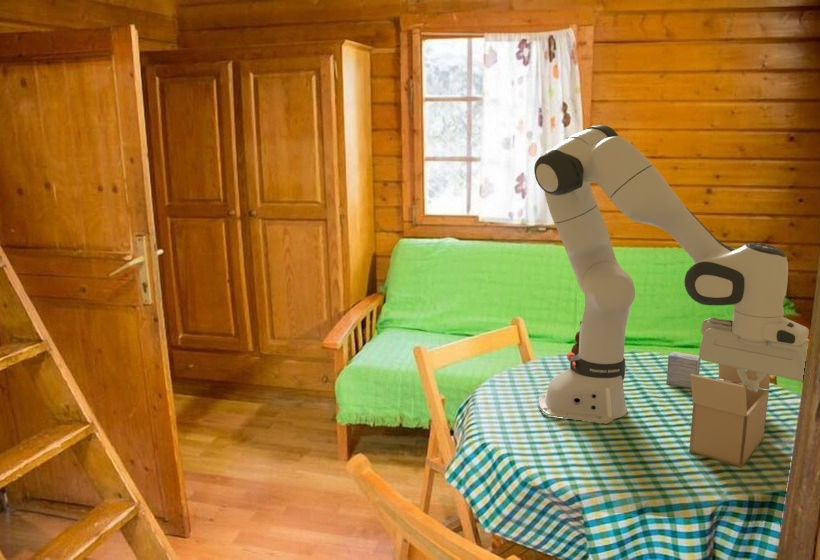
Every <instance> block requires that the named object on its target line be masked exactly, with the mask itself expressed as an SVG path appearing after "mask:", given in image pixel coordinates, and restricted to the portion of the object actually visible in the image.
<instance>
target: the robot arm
mask: <svg viewBox="0 0 820 560" xmlns="http://www.w3.org/2000/svg"><path fill="white" fill-rule="evenodd" d="M533 171H534V175H535V177H534V178H535V180H536V182H537V184H538V186H539V187H540V188H541V189H542V190H543V192H544V196H545V200H546V204H547V207H548V209H549V213H550V216H551V218H552V221H553V223H554V226H555V228H556V230H557V233H558V235H559V238H560V240H561V242H562V245H563V247H564V250H565V252H566V255H567V258H568V260H569V263H570V265H571V269H572V271H573V274H574V276H575V280H576V281H577V284H578V286H579V287H578V288H579V289H580V290H581V292H582V293H583V294H584V301H585V302H584V309H583V313H582V320H581V321H582V323H581V325H580V324H579V331H580V337H579V353H578V354H577V355H574V353H572V352H571V351H570V352H568V353H567V354H566V358H567V361H569V366H570V367H569V368H567V369H566V370H563V372H561V373H559V374H558V375H556V376H554V377H553V378H552V379H551V380H550V382H549V384H548V387H547V392H544V393H541V394H540V395H539V396H538V402H537V404H538V403H539V407H540V409H541V410H542V411H543V412H544V413H546V414H547V415H551V416H557V417H563V418H569V419H576V420H584V421H583V422H585V421H590V422H589V423H593V422H597V423H596V424H602V423H604V425H607V424H610V423H611V422H612V421H613V420H617V419H620V418H622V417H624V416H625V415H626V414H627V413H628V408H627V404H626V399H625V392H624V391H625V389H624V380H625V376H626V358H625V354H624V353H625V341H626V340H625V339H626V328H627V325H628V319H629V316H630V313H631V309H632V308H631V307H632V304H633V303H634V302H635V301H634V300H635V298H636V288H635V284H634V281H633V279H632V277H631V276H630V274H629V273H628V272H627V271H625V269H623V268H622V266H620V264H619V262H618V260H617V256H616V254H615V251H614V248H613V245H612V242H611V237H610V233H609V230H608V228H607V225H606V223H605V220H604V218H603V215H602V213H601V210H600V208H599V205H598V203H597V201H596V198H595V197H594V194H593V191H592V189H591V183H595V184H597V185H598V186H599V188H601V189H602V191H603V192H604V193H605V194H606V197H608V198H609V200H610V201H611V202H612V204H613V205H614V206H615V207H616V208H617V209H618V210H619V212H621V213H622V214H624V216H625V217H627V218H628V219H629V220H631V221H632V222H635V223H639V224H645V225H649V226H654V227H657V228H659V229H661V230H663V231H665V232H666V233H667V234H668V235H670V236H671V237H672V238H673V239H674V240H675V241H676V243H678V245H680V247H681V248H682V249H683V250H684V251H685V252H686V253H687V255H688V256H690V258H692V260H693V261H694V264H692V266H690V268H689V269H688V270H687V271H686V273H685V275H684V287H685V290H686V291H685V292H686V293H687V295H688V296H689V297H690V298H691V299H692V300H694V302H696V303H698V304H700V305H703V306H704V305H705V306H730V305H733V312H732V313H733V314H732V320H728V319H722V318H716V317H709V318H706V319H704V320H703V322H702V323H701V329H700V331H701V332H700V333H701V335H702V338H701V341H700V345H699V350H698V355H699V356H700V357H701V359H700V360H702V361H705V362H710V363H713V364H718V365H719V364H723V365H727V366H732V367H737V373H738V375H739V377H740V379H741V381H742V385H743V386H746V390H750V391H754V392H757V391H758V389H760V388H759V383H760V382H761V381H762V379H763V378H764V377H765V376H766V374H770V376H775V377H781V378H785V379H789V380H794V381H798V382H804V381H803V375H804V368H805V361H806V356H807V349H808V343H809V342H808V338H809V334H810V329H809V328H808V327H806V326H804V325H803V324H800V323H798V322H795V321H793V320H791V319H790V318H789V319H788V318H786V317H784V316H785V309H784V299H785V297H786V295H787V289H788V278H789V262H788V258H787V255H786V253H785V252H784V251H782V249H780V248H777V247H776V246H772V245H770V244H767V243H762V242H761V243H759V242H758V243H757V242H748V243H746V244H744V245H742V246H740V247H738V248H736V249H734V248H732V247H730V246H728V245H726V244H725V243H723V242H721V240H718V239H717V237H716V236H714V234H713V233H712V232H711V231H710V230H708V228H707V227H706V226H705V225H704V224H703V223H702V222H701V221H700V220H699V219H698V218H697V217H696V216H695V214H693V212H692V211H691V210H690V209H689V208H688V207H687V206H686V205H685V204H684V203H683V202H682V200H681V199H680V197H679V196H678V195H677V194H676V192H675V191H674V190H673V189H672V188H671V186H670V185H669V183H668V182H667V180H666V179H665V178H664V177H663V175H662V174H661V173H660V172H659V170H658V169H657V168H656V166H654V165H653V163H652V162H651V161H650V160H649V159H648V157H646V156H645V155H644V154H643V152H641V151H640V150H639V149H638V148H637V147H635V145H634V144H632V143H631V142H629V141H628V140H627V139H625V138H624V137H622V136H619V134H618V133H617V131H615V130H614V129H613V128H612V127H610V126H608V125H605V124H600V125H599V124H598V125H592V126H589V127H587V128H585V130H582V131H580V132H576V133H574V134H573V135H570V136H569V137H567V138H565V139H564V140H563V141H561V142H560V143H558V144H557V145H556V146H554V147H553V148H551V149H548V150H546V151H545V152H543V154H541V155H540V156H539V157H538V158H537V160H536V162H535V164H534V169H533ZM747 370H751V371H756V372H757V373H756V376H757V377H759V378H758V379H757V380H756V381H753V380H749V379H748V378H747V376H746V373H745V372H746V371H747ZM542 397H544V398H542ZM539 407H538V408H539ZM540 409H539V410H540ZM576 420H575V421H576Z"/></svg>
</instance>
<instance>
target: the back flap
mask: <svg viewBox="0 0 820 560" xmlns="http://www.w3.org/2000/svg"><path fill="white" fill-rule="evenodd" d="M745 373H746V376H747V378H748V379H749V380H753V381H756V380H757V379H758V378H759V377H757V376H756V373H757V372H756V371H751V370H747V371H746V372H745ZM770 377H771V375H770V374H766V376H765V377H764V378H763V379H762V381H761V382H760V383H759V389H764V390H768V391H769V389H770V383H771V380H770ZM718 379H719V380H728V381H733V382H737V383H741V384H742V381H741V379H740V377H739V375H738V373H737V367H732V366H727V365H723V364H718Z"/></svg>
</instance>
